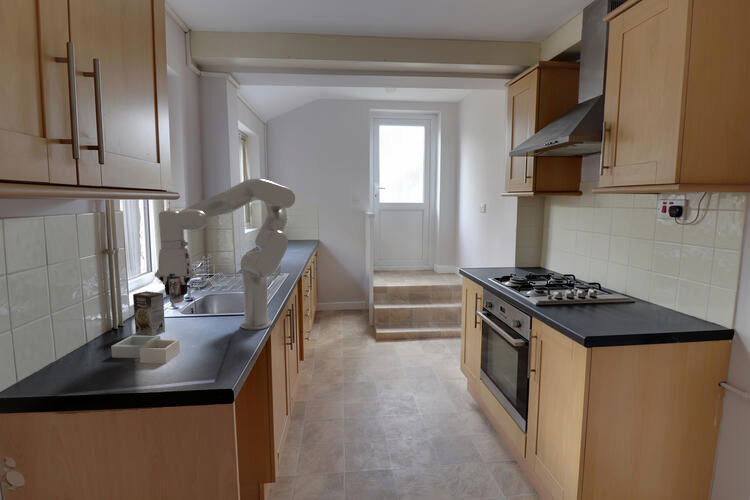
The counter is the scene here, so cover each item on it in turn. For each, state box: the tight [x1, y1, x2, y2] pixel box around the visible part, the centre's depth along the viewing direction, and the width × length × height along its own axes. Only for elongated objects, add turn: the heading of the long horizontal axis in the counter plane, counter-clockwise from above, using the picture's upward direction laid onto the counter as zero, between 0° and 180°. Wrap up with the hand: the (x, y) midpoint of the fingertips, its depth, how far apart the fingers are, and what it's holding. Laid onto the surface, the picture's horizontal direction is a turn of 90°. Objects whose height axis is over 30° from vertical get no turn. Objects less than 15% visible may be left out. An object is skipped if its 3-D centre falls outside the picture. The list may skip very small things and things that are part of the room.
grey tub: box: [110, 334, 161, 359], centre depth 134 cm, size 10×10×5 cm
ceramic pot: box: [139, 339, 181, 364], centre depth 129 cm, size 8×8×6 cm
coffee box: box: [132, 290, 166, 336], centre depth 154 cm, size 9×6×16 cm
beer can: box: [168, 272, 185, 304], centre depth 141 cm, size 5×5×12 cm
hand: (176, 294), depth 142 cm, fingers closed on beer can, 4 cm apart
